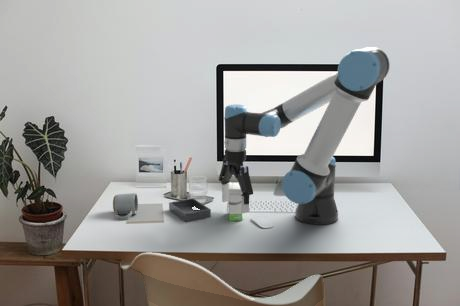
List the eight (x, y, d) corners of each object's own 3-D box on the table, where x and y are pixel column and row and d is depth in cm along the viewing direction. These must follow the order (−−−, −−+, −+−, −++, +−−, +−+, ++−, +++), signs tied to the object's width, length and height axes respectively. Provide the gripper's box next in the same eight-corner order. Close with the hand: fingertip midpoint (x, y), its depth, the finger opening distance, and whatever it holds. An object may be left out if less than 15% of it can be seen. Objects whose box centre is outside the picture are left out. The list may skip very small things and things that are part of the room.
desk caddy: (193, 205, 216) (193, 198, 215) (210, 217, 204) (210, 209, 203) (169, 210, 211) (169, 202, 210) (185, 222, 199) (185, 214, 198)
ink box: (242, 220, 200) (242, 189, 197) (228, 221, 200) (228, 189, 197) (241, 212, 209) (242, 181, 206) (228, 212, 209) (228, 181, 206)
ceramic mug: (116, 210, 211) (115, 190, 209) (138, 209, 211) (137, 190, 209) (111, 220, 201) (109, 200, 199) (134, 220, 201) (133, 200, 199)
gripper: (209, 143, 207) (209, 198, 212) (244, 158, 186) (244, 219, 191) (227, 140, 211) (227, 195, 216) (263, 155, 190) (262, 215, 195)
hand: (235, 206), depth 203 cm, fingers open, 13 cm apart
